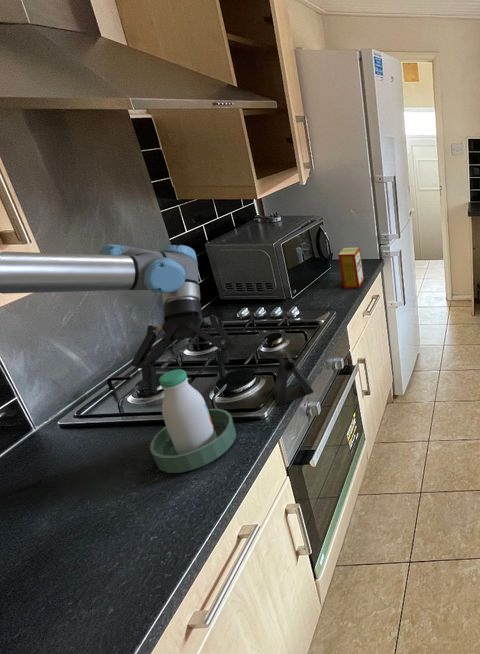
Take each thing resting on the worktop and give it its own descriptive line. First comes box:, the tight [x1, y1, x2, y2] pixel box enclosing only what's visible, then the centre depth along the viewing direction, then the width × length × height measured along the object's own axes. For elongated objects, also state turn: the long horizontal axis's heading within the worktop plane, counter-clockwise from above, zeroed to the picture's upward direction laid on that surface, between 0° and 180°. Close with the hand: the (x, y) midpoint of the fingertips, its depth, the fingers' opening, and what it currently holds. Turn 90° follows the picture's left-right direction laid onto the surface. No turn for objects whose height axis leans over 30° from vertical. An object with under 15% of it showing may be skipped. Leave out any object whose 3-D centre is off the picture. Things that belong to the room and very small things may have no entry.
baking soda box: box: [338, 246, 365, 290], centre depth 182 cm, size 10×6×16 cm
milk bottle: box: [158, 369, 217, 455], centre depth 93 cm, size 8×8×20 cm
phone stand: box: [273, 350, 314, 406], centre depth 113 cm, size 9×6×12 cm, turn 127°
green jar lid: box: [149, 408, 237, 474], centre depth 96 cm, size 15×15×5 cm
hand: (188, 385), depth 98 cm, fingers open, 13 cm apart
